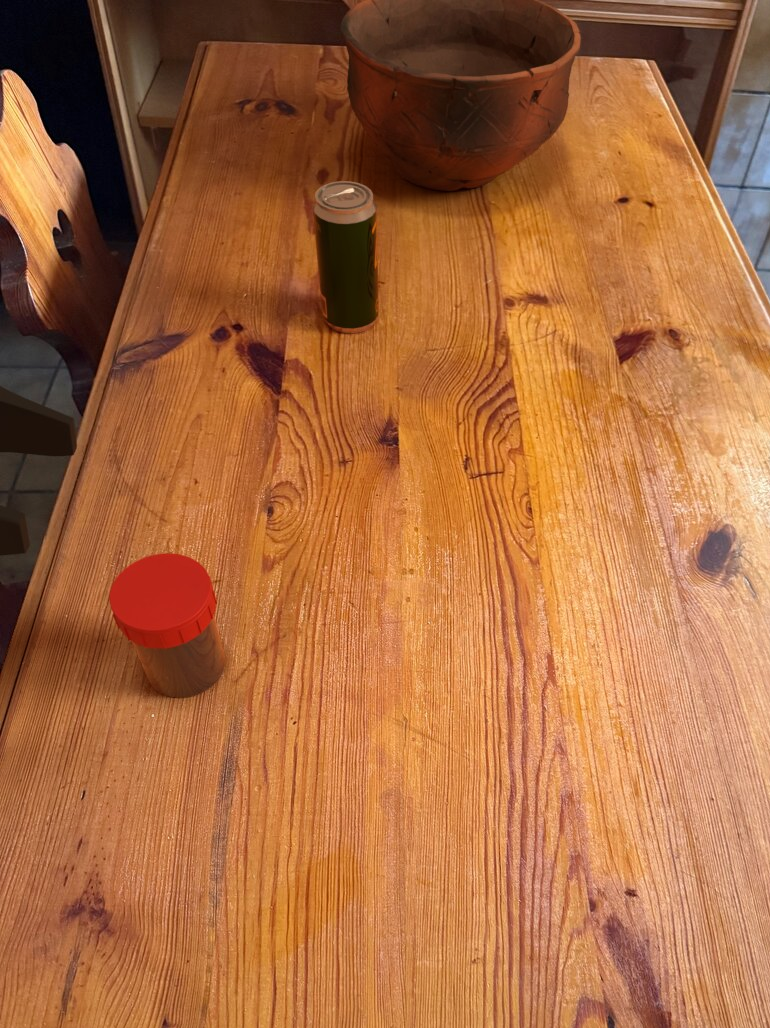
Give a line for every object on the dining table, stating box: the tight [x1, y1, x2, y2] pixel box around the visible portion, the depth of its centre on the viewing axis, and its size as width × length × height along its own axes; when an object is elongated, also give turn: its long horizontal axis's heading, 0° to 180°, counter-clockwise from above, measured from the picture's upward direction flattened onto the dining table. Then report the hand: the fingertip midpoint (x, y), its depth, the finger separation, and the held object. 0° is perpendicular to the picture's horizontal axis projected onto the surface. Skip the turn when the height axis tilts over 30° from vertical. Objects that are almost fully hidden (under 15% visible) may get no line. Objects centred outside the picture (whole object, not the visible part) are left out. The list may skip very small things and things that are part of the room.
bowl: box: [339, 0, 582, 192], centre depth 97 cm, size 25×25×15 cm
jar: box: [132, 615, 226, 699], centre depth 57 cm, size 5×5×8 cm
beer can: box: [312, 180, 380, 334], centre depth 80 cm, size 5×5×12 cm
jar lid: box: [108, 552, 218, 649], centre depth 54 cm, size 6×6×2 cm
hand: (51, 482), depth 44 cm, fingers open, 7 cm apart
